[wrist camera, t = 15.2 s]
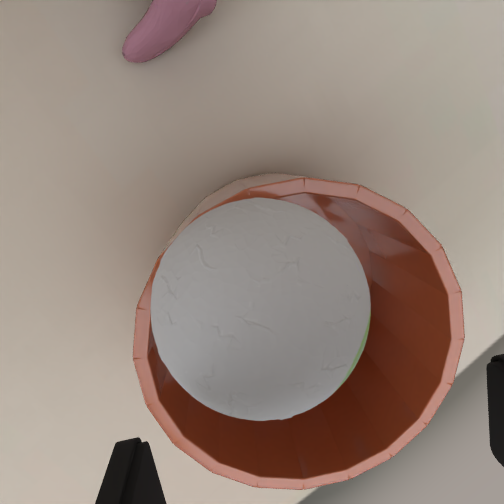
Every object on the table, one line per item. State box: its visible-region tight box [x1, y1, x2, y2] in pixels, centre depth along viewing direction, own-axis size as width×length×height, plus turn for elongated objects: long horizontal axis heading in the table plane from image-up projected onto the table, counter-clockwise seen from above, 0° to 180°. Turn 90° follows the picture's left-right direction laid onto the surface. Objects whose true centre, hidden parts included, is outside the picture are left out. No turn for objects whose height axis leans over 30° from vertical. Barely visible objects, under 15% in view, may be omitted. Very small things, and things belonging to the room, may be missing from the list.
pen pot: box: [133, 173, 465, 490], centre depth 21 cm, size 14×14×10 cm
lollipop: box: [150, 198, 371, 421], centre depth 17 cm, size 7×7×15 cm
